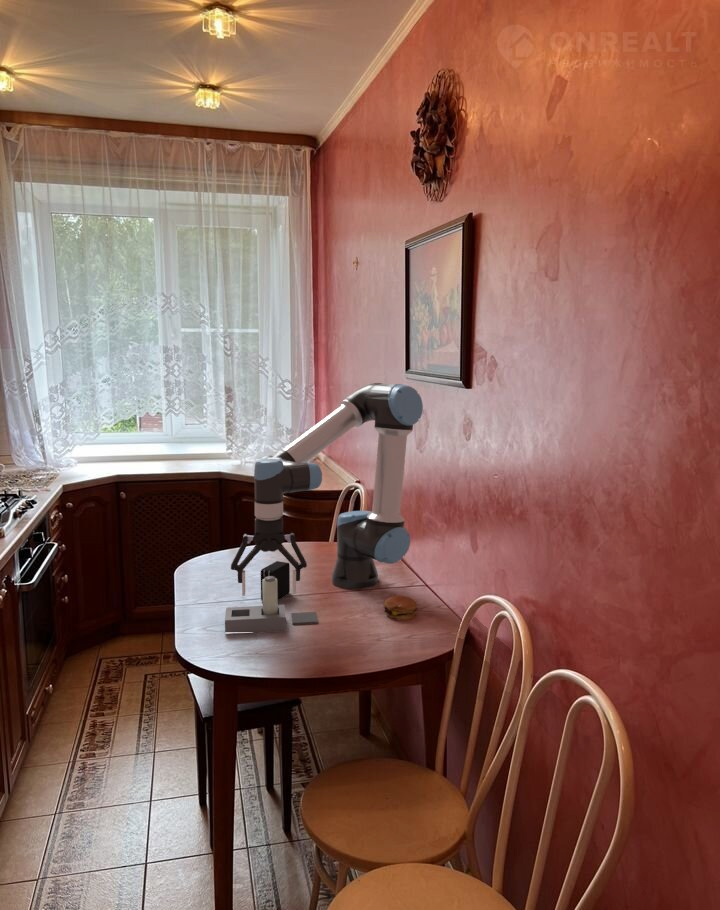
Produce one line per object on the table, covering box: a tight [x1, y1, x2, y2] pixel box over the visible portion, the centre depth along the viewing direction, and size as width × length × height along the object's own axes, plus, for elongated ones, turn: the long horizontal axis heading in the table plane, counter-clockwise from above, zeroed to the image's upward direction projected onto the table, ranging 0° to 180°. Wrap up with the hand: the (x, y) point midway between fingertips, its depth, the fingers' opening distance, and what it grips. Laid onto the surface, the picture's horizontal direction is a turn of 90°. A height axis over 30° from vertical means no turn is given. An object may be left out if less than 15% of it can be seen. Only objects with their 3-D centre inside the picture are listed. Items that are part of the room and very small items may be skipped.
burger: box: [383, 595, 419, 621], centre depth 194 cm, size 10×9×5 cm
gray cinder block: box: [224, 604, 287, 633], centre depth 185 cm, size 16×9×4 cm, turn 99°
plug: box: [262, 576, 279, 615], centre depth 184 cm, size 4×4×14 cm
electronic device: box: [260, 560, 291, 602], centre depth 206 cm, size 4×10×10 cm, turn 155°
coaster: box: [290, 611, 319, 626], centre depth 190 cm, size 7×7×1 cm
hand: (269, 593), depth 184 cm, fingers open, 13 cm apart
